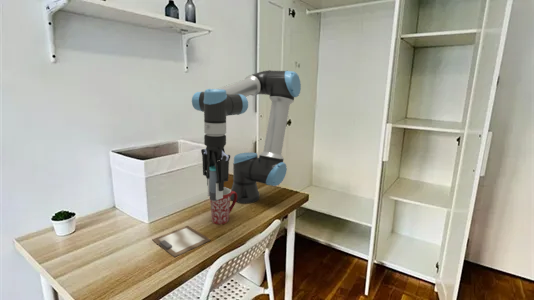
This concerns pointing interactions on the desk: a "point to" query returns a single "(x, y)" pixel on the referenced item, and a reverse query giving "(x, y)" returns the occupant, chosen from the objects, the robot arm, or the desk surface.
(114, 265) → the desk surface
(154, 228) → the desk surface
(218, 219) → the mug
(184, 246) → the clipboard
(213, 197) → the grey cylinder
